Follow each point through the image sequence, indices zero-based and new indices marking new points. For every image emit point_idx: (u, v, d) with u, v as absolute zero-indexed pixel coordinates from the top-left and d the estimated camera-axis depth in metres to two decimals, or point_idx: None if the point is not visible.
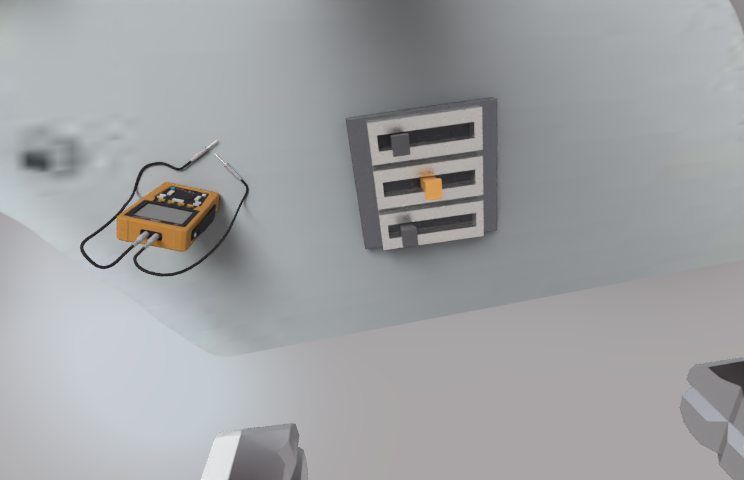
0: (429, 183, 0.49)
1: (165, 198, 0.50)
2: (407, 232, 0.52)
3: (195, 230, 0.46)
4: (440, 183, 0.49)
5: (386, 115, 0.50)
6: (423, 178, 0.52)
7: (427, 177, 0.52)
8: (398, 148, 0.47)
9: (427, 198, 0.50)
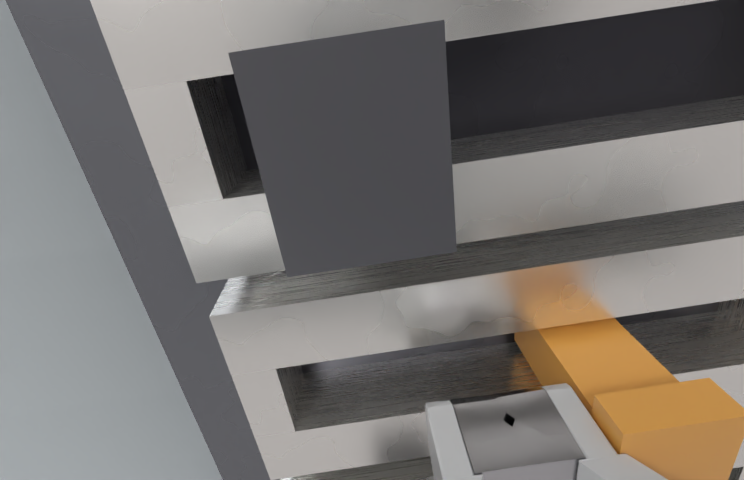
0: (650, 440, 0.06)
1: None
2: None
3: None
4: (734, 435, 0.06)
5: None
6: (548, 329, 0.09)
7: None
8: (327, 196, 0.04)
9: None
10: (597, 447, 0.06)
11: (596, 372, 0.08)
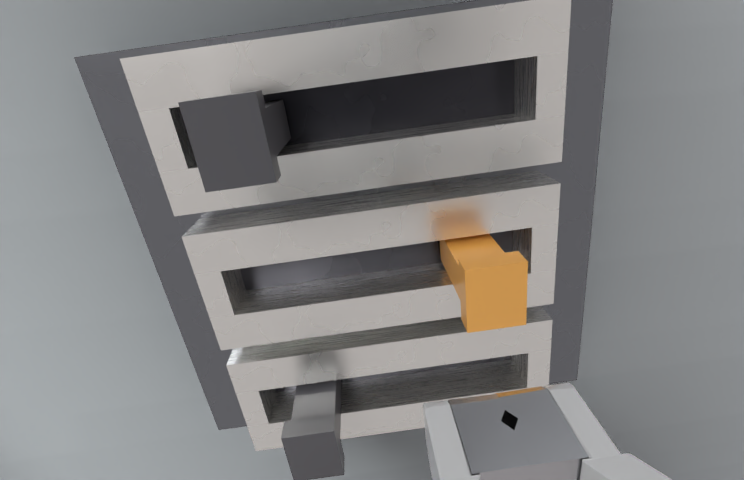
0: (479, 274, 0.13)
1: None
2: (302, 441, 0.15)
3: None
4: (523, 274, 0.13)
5: (219, 40, 0.14)
6: (451, 242, 0.16)
7: (464, 239, 0.16)
8: (219, 157, 0.11)
9: (472, 325, 0.13)
10: (601, 447, 0.06)
11: (469, 257, 0.14)
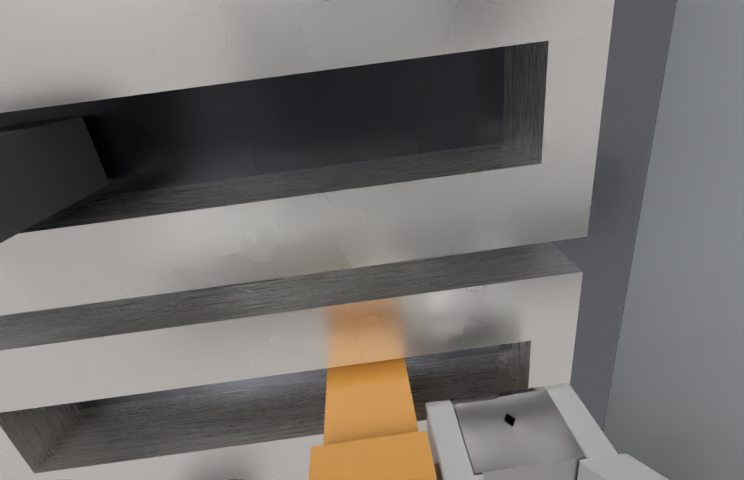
0: None
1: None
2: None
3: None
4: None
5: None
6: (337, 368, 0.09)
7: None
8: None
9: None
10: (598, 447, 0.06)
11: (350, 417, 0.08)
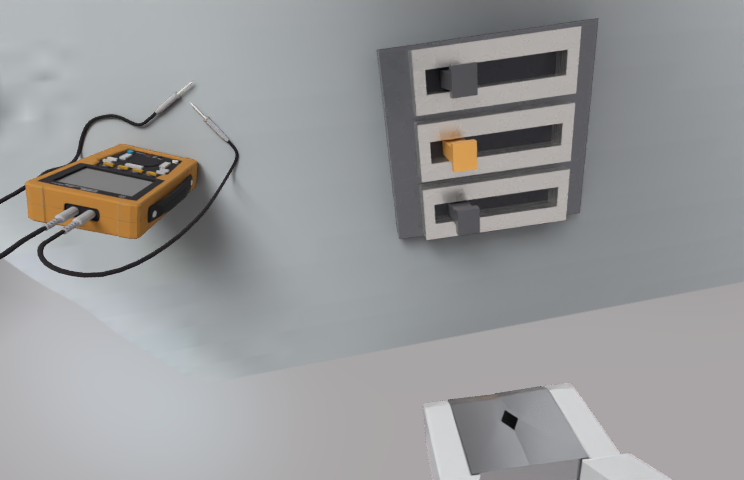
0: (458, 146, 0.33)
1: (115, 163, 0.34)
2: (465, 213, 0.36)
3: (154, 207, 0.30)
4: (475, 146, 0.34)
5: (437, 42, 0.35)
6: (448, 142, 0.36)
7: (453, 140, 0.37)
8: (460, 85, 0.31)
9: (456, 168, 0.34)
10: (600, 447, 0.06)
11: None
